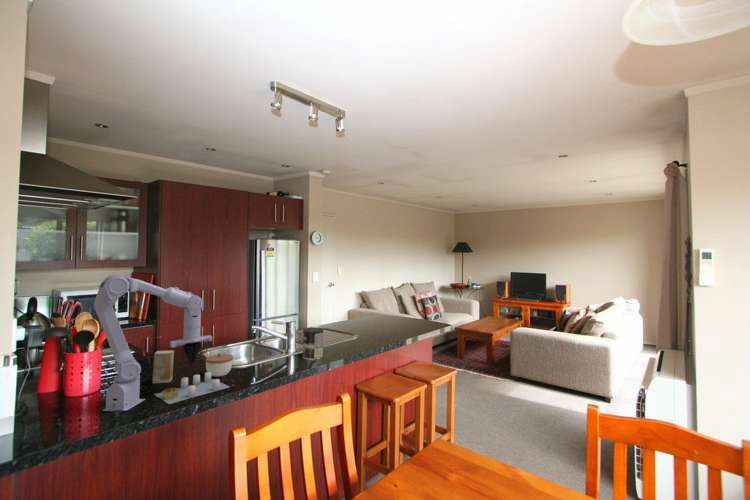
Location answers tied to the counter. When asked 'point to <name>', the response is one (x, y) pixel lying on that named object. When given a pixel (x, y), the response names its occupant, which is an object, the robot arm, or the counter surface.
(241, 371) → the counter surface
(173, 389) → the nut
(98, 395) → the counter surface
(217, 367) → the lidded jar
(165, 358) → the skincare box
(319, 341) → the coffee can
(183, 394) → the board
